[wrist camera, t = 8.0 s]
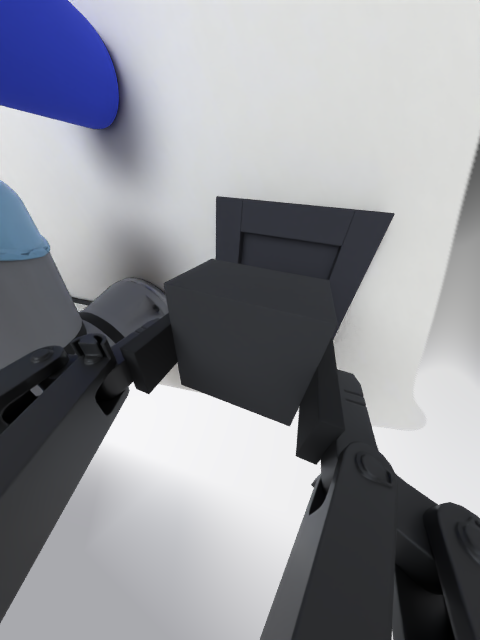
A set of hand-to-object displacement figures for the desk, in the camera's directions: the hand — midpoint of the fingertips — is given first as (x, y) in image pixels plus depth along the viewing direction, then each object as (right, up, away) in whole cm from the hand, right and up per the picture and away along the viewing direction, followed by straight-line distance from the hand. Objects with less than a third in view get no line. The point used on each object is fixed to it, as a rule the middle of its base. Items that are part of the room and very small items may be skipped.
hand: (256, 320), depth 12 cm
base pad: (+4, +5, +9) cm, 11 cm away
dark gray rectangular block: (0, 0, 0) cm, 0 cm away
